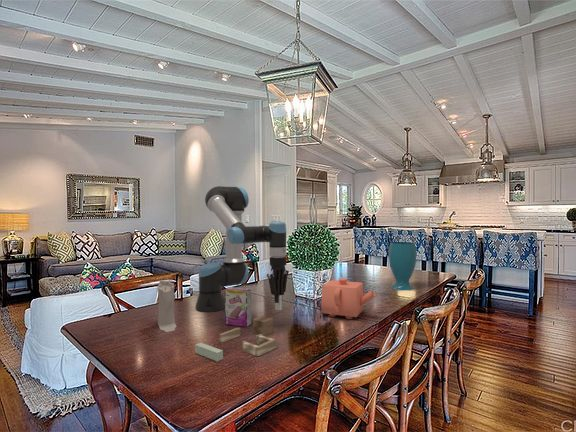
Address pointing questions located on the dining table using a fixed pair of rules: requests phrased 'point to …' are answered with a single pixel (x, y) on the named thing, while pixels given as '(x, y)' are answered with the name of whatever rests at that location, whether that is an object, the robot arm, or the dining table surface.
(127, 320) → the dining table surface
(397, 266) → the vase
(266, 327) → the block
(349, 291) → the teapot
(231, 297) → the candy bar box
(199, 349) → the bar
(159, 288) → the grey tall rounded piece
